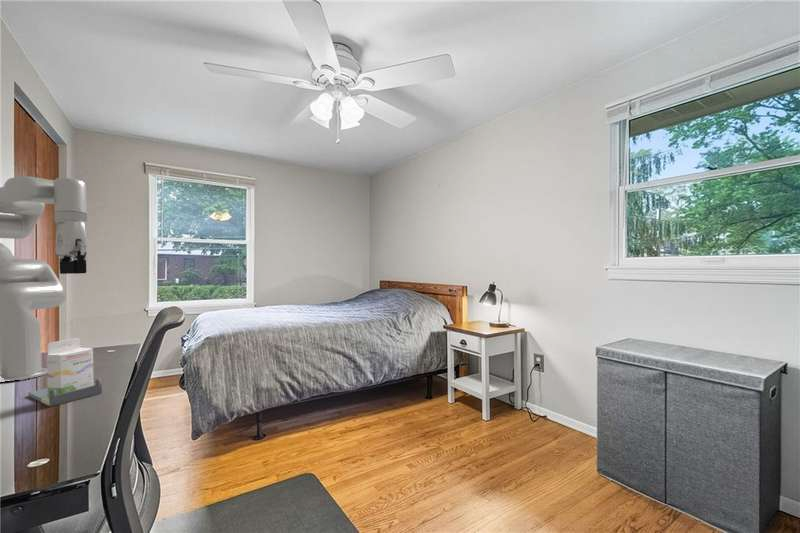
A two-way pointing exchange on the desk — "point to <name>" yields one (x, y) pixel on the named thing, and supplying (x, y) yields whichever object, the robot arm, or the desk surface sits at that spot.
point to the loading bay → (66, 394)
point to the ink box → (69, 366)
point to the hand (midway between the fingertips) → (73, 273)
